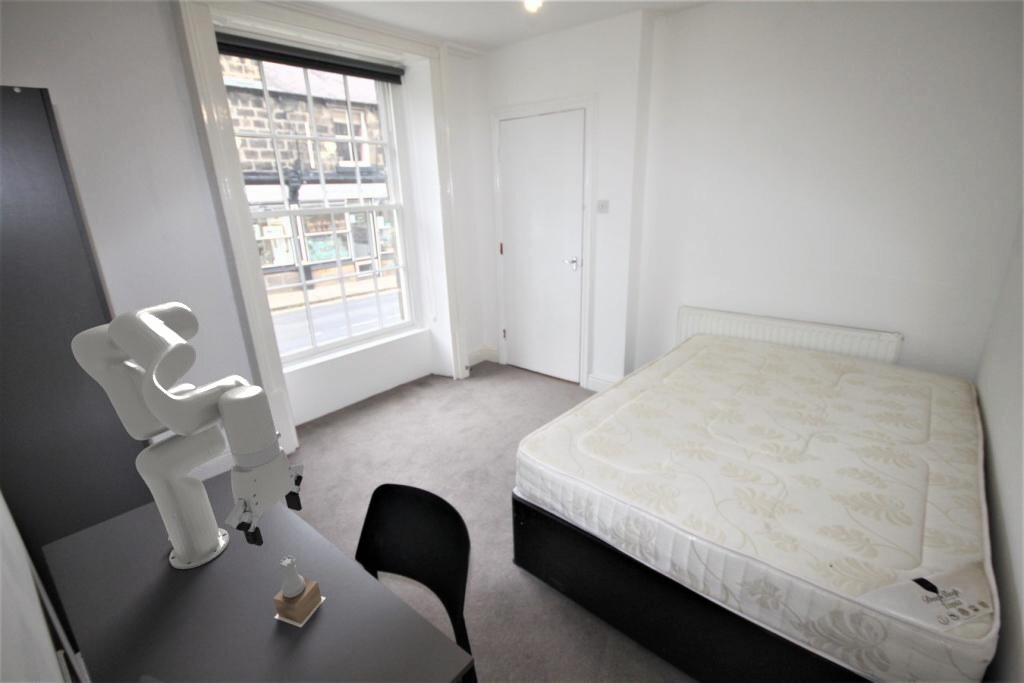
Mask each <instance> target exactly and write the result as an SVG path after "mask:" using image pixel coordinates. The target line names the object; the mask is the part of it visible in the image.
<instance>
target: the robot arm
mask: <svg viewBox="0 0 1024 683" xmlns="http://www.w3.org/2000/svg"><path fill="white" fill-rule="evenodd" d="M199 325H200V324H199V320H198V317H197V315H196V314H195V312H193V310H192V309H191V308H190V307H188V306H187V305H186V304H183V303H181V302H178V301H168V302H164V303H158V304H154V305H150V306H144V307H141V308H136V309H132V310H128V311H126V312H123V313H120V314H119V315H117V316H116V317H114V318H113V319H112V320H111V321H110V322H109V323H105V324H101V325H98V326H95V327H91V328H88V329H86V330H83V331H81V332H79V333H78V334H76V335H75V336H74V337H73V338H72V341H71V342H70V346H71V351H72V354H73V357H74V358H75V360H76V361H77V364H78V365H79V366H80V367H81V368H82V370H84V371H85V372H86V373H87V374H88V375H89V376H90V377H91V378H92V379H93V380H95V381H96V382H97V383H98V384H99V386H100V387H102V388H103V390H104V392H105V394H106V395H107V397H108V398H109V400H110V402H111V405H112V406H113V407H114V408H113V409H114V411H115V412H116V414H117V416H118V418H119V419H120V421H121V423H122V425H123V428H124V429H125V430H126V432H127V433H128V434H129V436H131V438H132V439H134V440H137V441H146V440H149V439H152V438H155V437H158V436H161V435H162V434H164V433H167V432H170V431H171V432H173V433H174V434H172V435H169V436H168V437H166V438H163V439H161V440H158V441H156V442H154V443H152V444H150V445H149V446H147V447H145V448H144V449H143V450H142V451H141V452H139V454H138V455H137V457H136V459H135V467H136V468H135V469H136V470H137V472H138V474H139V475H140V477H141V478H142V480H143V481H144V483H145V485H146V486H147V488H149V491H150V492H151V495H152V496H153V499H154V501H155V504H156V506H157V509H158V511H159V514H160V517H161V519H162V521H163V524H164V527H165V529H166V531H167V534H168V536H167V540H168V541H170V542H171V544H172V547H173V549H172V550H171V552H170V555H169V558H168V559H169V562H170V564H171V566H172V567H173V568H175V569H178V570H179V569H180V570H187V569H194V568H197V567H200V566H202V565H204V564H206V563H208V562H210V561H212V560H213V559H216V558H217V557H218V556H219V555H220V554H222V552H224V550H225V549H226V547H227V546H228V544H229V542H230V536H229V532H228V531H227V530H226V529H224V528H220V527H219V526H218V523H217V521H216V517H215V514H214V512H213V508H212V505H211V502H210V499H209V496H208V493H207V490H206V487H205V486H204V484H203V482H202V481H201V480H200V479H199V478H197V477H194V476H191V475H188V474H189V473H191V472H192V471H194V470H196V469H198V468H200V467H201V466H203V465H205V464H207V463H209V462H211V461H213V460H215V459H216V458H217V457H219V456H221V455H222V454H223V453H224V452H225V450H226V446H227V443H226V439H227V442H228V446H229V449H230V452H231V456H232V459H233V463H234V465H233V466H232V467H231V469H230V483H231V490H232V496H233V500H234V507H233V508H232V510H231V511H230V513H229V514H228V516H227V517H226V519H224V520H225V521H224V524H225V525H226V526H228V527H230V528H232V530H237V531H241V532H243V533H244V537H245V540H246V542H247V543H248V544H249V545H255V546H257V547H261V546H263V544H264V540H263V536H262V533H261V529H260V527H259V526H257V524H258V522H259V518H260V516H262V515H264V514H265V513H266V512H267V511H269V510H270V509H271V508H272V507H273V506H275V505H276V504H277V503H278V502H280V500H282V499H283V498H285V501H286V506H287V508H288V509H289V510H293V511H297V512H300V511H301V510H302V509H303V507H302V502H301V497H300V494H299V493H300V492H301V484H302V480H303V474H304V465H303V464H299V463H298V464H297V463H296V464H295V463H294V464H291V463H290V460H289V458H288V456H287V454H286V452H285V450H284V449H283V447H282V446H280V444H279V439H280V438H281V437H282V435H281V433H280V431H276V427H275V423H274V420H273V414H272V411H271V407H270V402H269V398H268V396H267V395H268V394H267V393H266V390H265V389H264V388H262V387H261V386H258V385H253V384H251V382H250V381H249V380H248V379H246V378H244V377H243V376H242V375H241V376H240V375H238V374H229V375H226V376H223V377H220V378H217V379H216V380H215V379H214V380H213V381H209V382H207V383H204V384H201V385H199V386H195V385H194V384H192V383H189V382H181V383H177V382H178V381H180V379H182V378H183V377H184V376H185V375H186V374H187V373H188V372H190V370H191V368H192V367H193V366H194V364H195V362H196V360H197V353H196V349H195V348H194V346H193V345H192V344H191V343H190V342H188V341H189V340H191V339H192V338H195V337H196V335H197V333H199V329H200V328H199V327H200V326H199ZM131 360H133V361H134V362H135V363H134V362H132V361H131ZM220 423H222V424H223V425H222V426H223V429H224V432H225V435H226V439H225V437H224V434H223V432H222V430H221V428H220V425H219V424H220ZM240 517H241V518H240ZM249 518H250V520H249ZM239 519H240V520H239ZM248 521H249V522H248Z"/></svg>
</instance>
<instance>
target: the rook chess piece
mask: <svg viewBox="0 0 1024 683" xmlns="http://www.w3.org/2000/svg"><path fill="white" fill-rule="evenodd" d="M282 558H283V559H280V560H279V565H278V570H280V571H281V575H283V583H282V587H281V590H282V591H283V595H284V596H285V597H288V598H292V597H295V596H297V595H299V594H300V593H301V592H302V591H303V590H304V588H305V584H306V583H305V581H304V578H305V577H303V576H302V575H300V574H299V573H298V571H297V565H296V563H297V559H296V558H294V557H293V556H291V555H287V557H286V556H284V557H282Z"/></svg>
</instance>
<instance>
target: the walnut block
mask: <svg viewBox="0 0 1024 683" xmlns="http://www.w3.org/2000/svg"><path fill="white" fill-rule="evenodd" d="M303 578H304V581H305V583H306V584H305V588H304V590H303V591H302V592H301V593H300V594H299V595H297V596H295V597H292V598H288V597H285V596H284V595H283V591H282V589H281V590H280V591H278V592H277V594H276V595H275V596H274V597H273V598H272V599H273V601H274V602H273V603H274V606H275V609H276V612H277V614H278V615H279V616H280V617H283V618H286V619H289V620H292V621H294V622H297V623H300V624H302V622H303V621H304V620H305V619H306V618H307V616H308V615H309V614H310V613H311V612H312V610H313V609H314V608H315V607H316V606H317V604H318V603H319V602H320V601H321V600H322V598H321V596H322V594H321V591H320V587H319V582H318V581H316V580H312V579H309V578H306V577H303Z"/></svg>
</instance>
